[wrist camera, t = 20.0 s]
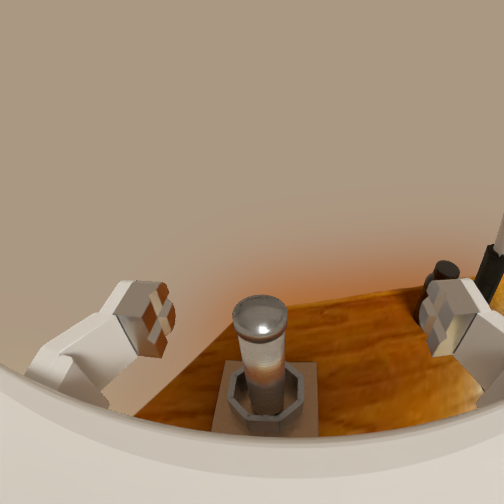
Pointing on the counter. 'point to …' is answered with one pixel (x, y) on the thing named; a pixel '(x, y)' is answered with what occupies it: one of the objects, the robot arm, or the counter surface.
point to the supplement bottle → (441, 272)
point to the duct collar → (278, 425)
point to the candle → (491, 267)
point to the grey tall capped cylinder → (262, 350)
